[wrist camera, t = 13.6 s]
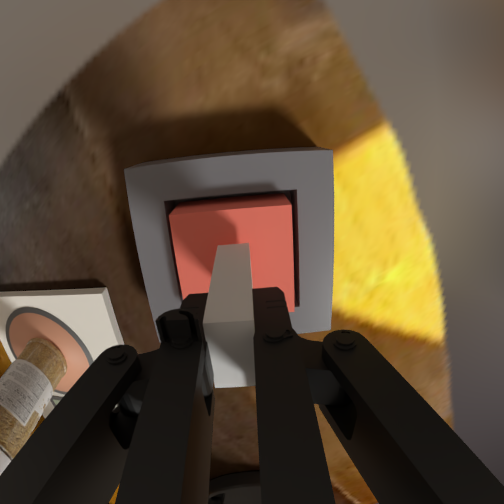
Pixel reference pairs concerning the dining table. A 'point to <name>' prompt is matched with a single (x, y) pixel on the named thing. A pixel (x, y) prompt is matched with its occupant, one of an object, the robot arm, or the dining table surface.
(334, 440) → the dining table surface
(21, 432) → the spice jar
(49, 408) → the picture board
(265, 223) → the button
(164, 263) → the button housing
